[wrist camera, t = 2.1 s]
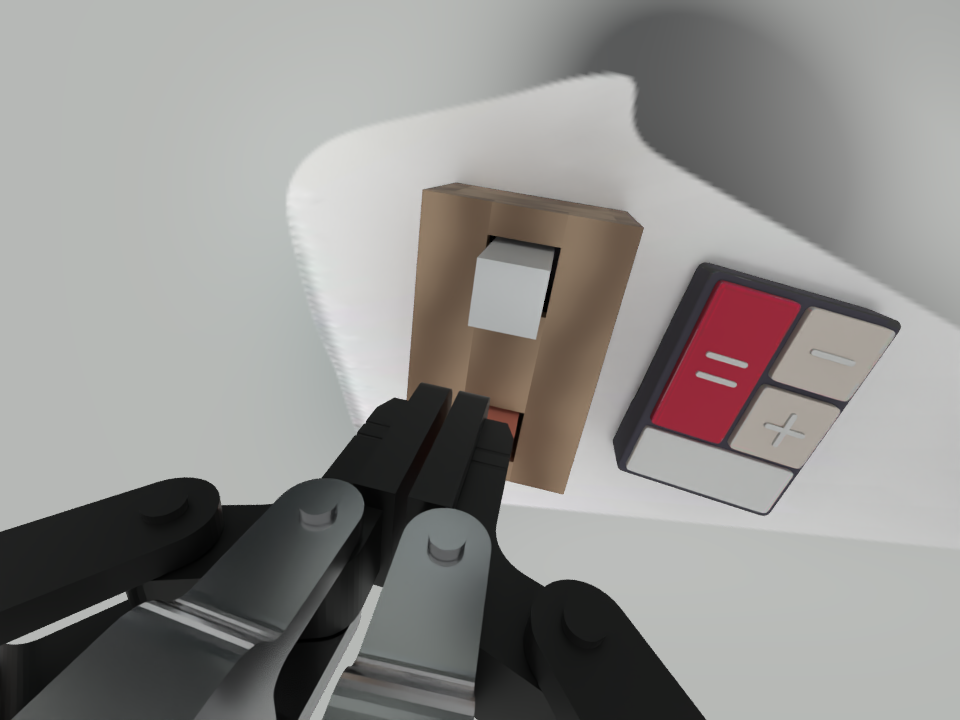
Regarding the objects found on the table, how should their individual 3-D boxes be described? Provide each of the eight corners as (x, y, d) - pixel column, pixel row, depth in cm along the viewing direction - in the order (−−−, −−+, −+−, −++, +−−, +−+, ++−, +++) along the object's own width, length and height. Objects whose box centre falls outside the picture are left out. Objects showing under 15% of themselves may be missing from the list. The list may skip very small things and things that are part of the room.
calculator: (916, 327, 23) (772, 526, 30) (866, 307, 27) (747, 486, 34) (717, 270, 24) (616, 476, 30) (696, 258, 28) (610, 442, 34)
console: (626, 211, 27) (643, 227, 20) (564, 433, 34) (563, 494, 28) (455, 182, 28) (422, 189, 22) (432, 403, 35) (402, 455, 29)
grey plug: (555, 242, 24) (550, 271, 18) (544, 296, 26) (535, 339, 20) (501, 232, 25) (477, 257, 19) (492, 286, 26) (467, 325, 20)
